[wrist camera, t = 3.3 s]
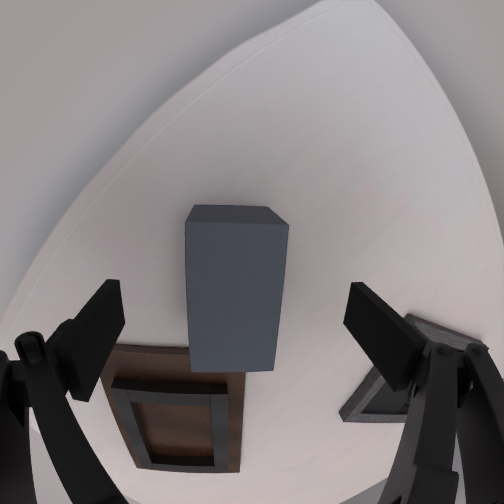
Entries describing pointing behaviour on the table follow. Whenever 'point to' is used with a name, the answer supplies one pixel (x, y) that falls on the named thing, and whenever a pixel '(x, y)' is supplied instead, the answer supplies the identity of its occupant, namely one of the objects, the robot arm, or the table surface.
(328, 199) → the table surface
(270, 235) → the pad block
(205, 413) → the back plate
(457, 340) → the picture frame
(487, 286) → the table surface
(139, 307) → the table surface
